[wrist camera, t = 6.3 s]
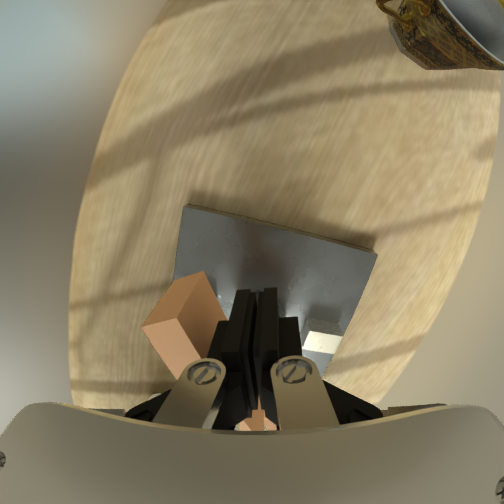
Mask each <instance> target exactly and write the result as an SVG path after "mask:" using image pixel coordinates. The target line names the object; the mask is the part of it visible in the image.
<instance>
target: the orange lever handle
mask: <svg viewBox="0 0 504 504" xmlns="http://www.w3.org/2000/svg"><path fill="white" fill-rule="evenodd" d="M221 320H227V318H226V316H225V314H224V312H223V310H222V308H221V306H220V304H219V302H218V300H217V298H216V296H215V294H214V292H213V289H212V287H211V285H210V283H209V281H208V279H207V277H206V275H205V273H204V271H201V272H198V273H195V274H192V275H189V276H186V277H183V278H180V279H177V280H174V282H173V283H172V284H171V286H170V287H169V288H168V290H167V291H166V293H165V294H164V295H163V297H162V298H161V299H160V301H159V302H158V304H157V305H156V306H155V308H154V309H153V311H152V312H151V313H150V315H149V316H148V318H147V319H146V321H145V322H144V323H143V325H142V326H141V328H142V329H143V331H144V333H145V334H146V336H147V337H148V339H149V340H150V342H151V344H152V345H153V347H154V348H155V350H156V351H157V353H158V354H159V355H160V357H161V358H162V360H163V361H164V363H165V364H166V366H167V367H168V368H169V370H170V371H171V373H172V374H173V375H174V377H175V378H176V379H177V380H178V378H179V377H180V375H181V373H182V372H183V370H184V369H185V368H186V366H187V365H189V364H190V363H192V362H194V361H196V360H199V359H204V358H207V355H208V352H209V349H210V345H211V342H212V339H213V336H214V333H215V330H216V327H217V323H218V321H221ZM264 424H265V426H266V427H267V429H268V430H269V431H271V430H276V425H275V424H274V423H273V422H271V421H270V420H269V419H267V418H266V417H265V411H264V410H261V404H260V398H259V399H258V409H257V410H252V418H246V419H244V420H243V421H242V422H240V430H239V431H263V428H264Z"/></svg>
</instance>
